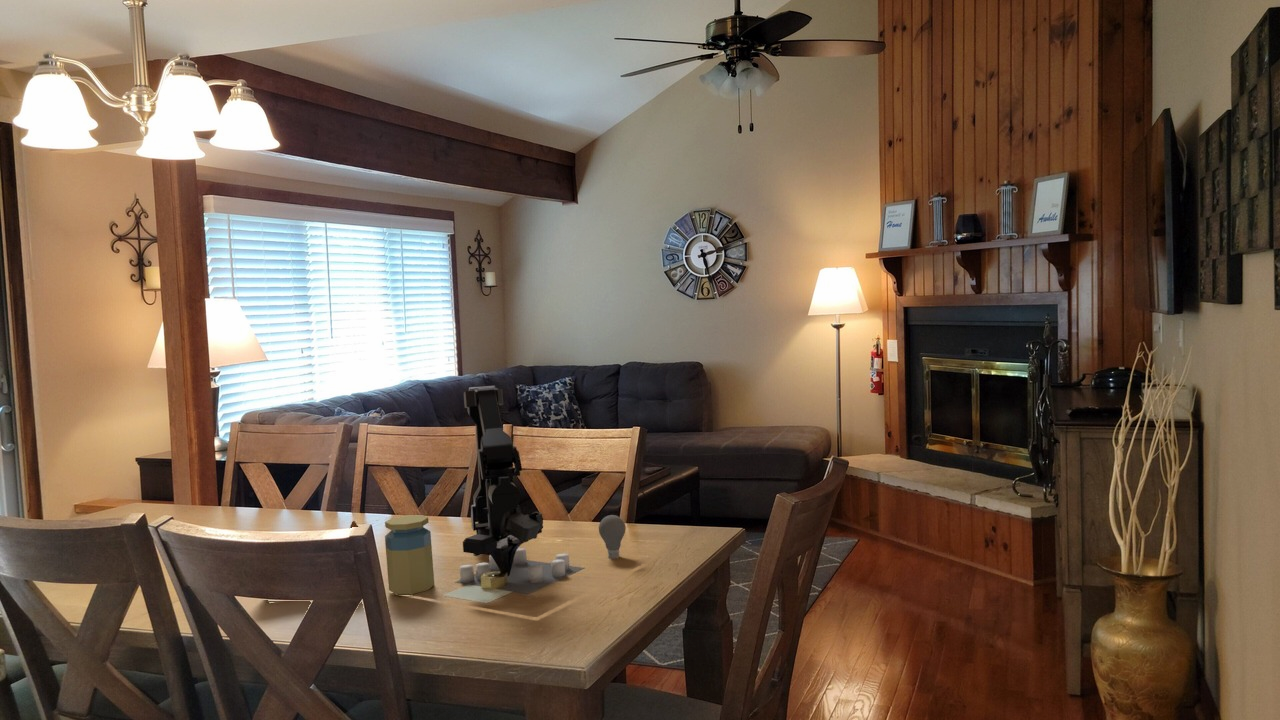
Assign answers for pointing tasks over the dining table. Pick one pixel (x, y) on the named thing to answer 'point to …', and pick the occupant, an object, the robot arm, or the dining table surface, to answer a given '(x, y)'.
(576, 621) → the dining table surface
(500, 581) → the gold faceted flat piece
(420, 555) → the jar
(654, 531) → the dining table surface
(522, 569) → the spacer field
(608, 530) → the light bulb
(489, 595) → the tile
